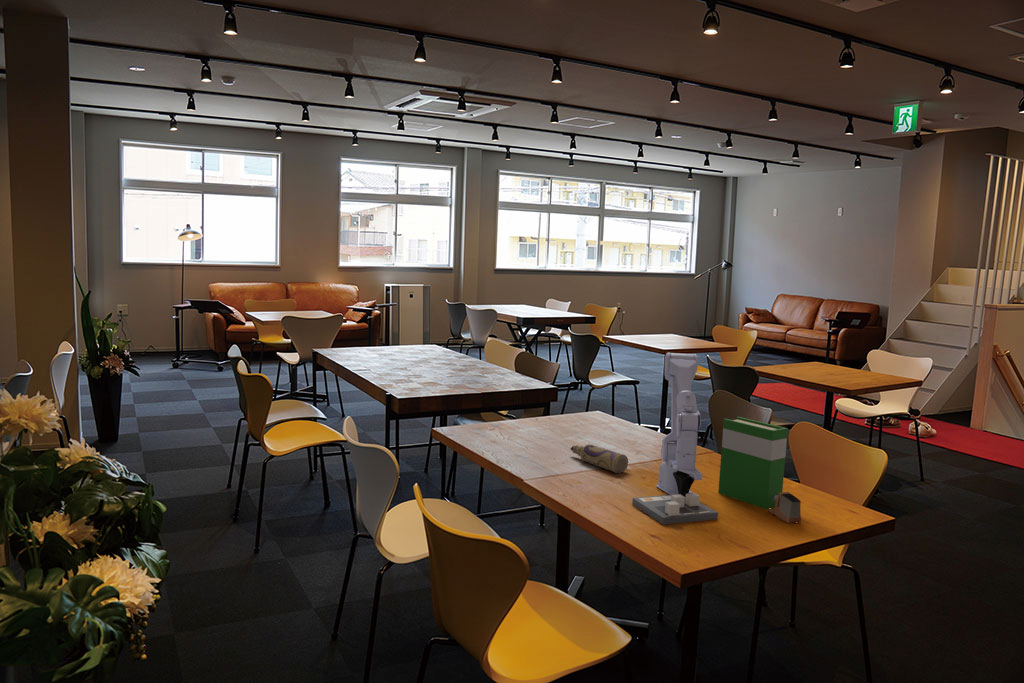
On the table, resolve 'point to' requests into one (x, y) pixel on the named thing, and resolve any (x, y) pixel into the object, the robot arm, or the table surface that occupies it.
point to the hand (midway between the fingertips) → (683, 496)
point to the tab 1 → (672, 508)
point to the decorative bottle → (602, 457)
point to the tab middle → (678, 499)
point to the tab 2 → (692, 499)
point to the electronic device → (786, 507)
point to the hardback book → (752, 461)
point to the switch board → (686, 514)
